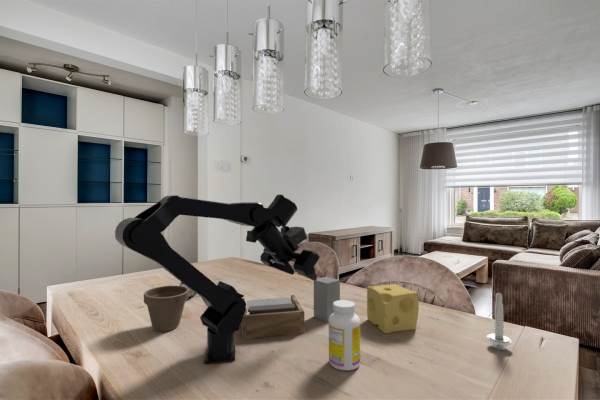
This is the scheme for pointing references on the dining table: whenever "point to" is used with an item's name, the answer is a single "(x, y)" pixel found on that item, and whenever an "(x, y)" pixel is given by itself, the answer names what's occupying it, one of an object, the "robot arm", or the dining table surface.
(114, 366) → the dining table surface
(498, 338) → the screw
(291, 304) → the trapdoor
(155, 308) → the flower pot
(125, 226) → the robot arm
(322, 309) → the grey rectangular block
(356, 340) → the supplement bottle
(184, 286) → the mineral rock
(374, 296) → the cheese
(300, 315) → the trap frame
